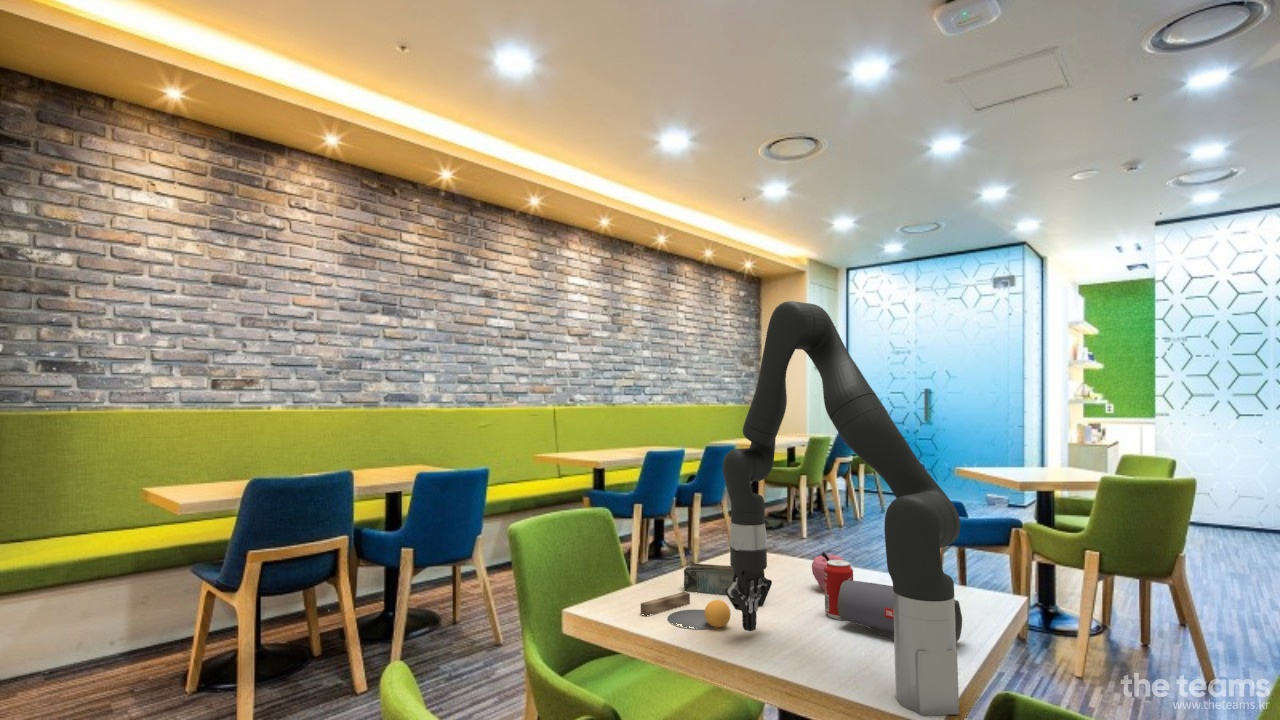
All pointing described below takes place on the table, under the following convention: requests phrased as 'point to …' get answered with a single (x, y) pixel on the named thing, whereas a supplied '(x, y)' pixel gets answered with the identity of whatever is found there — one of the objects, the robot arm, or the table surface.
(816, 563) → the apple
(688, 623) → the mark
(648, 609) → the wooden bar
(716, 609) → the ball
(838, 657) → the table surface
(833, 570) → the beverage can
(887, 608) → the bluetooth speaker
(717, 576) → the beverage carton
